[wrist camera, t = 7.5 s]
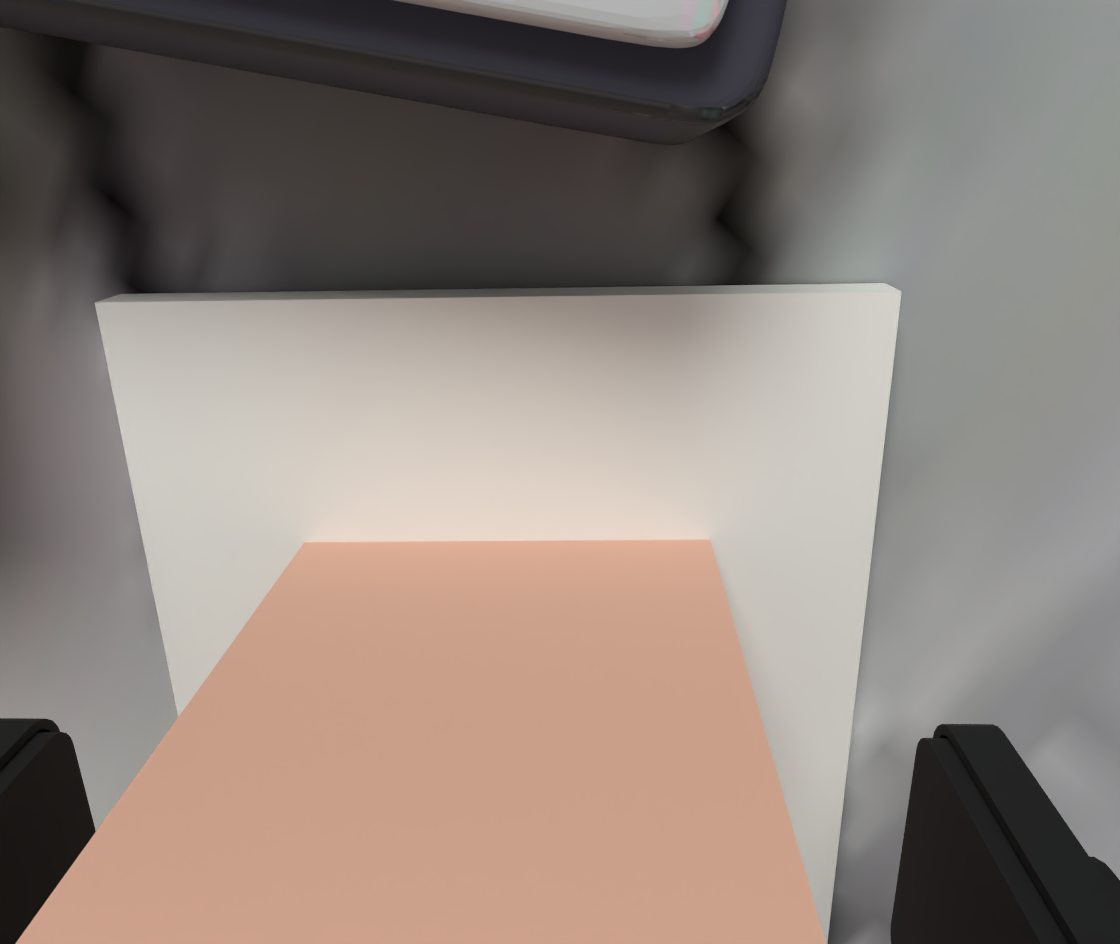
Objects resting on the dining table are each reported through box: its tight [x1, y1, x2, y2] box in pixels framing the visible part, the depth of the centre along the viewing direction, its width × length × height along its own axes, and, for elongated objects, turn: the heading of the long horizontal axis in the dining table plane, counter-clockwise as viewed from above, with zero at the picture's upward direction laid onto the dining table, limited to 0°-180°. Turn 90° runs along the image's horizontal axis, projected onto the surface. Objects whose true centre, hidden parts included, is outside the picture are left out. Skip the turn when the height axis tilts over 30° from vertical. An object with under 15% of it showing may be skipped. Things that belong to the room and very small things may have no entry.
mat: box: [95, 283, 901, 944], centre depth 12 cm, size 9×11×1 cm
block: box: [15, 539, 826, 944], centre depth 9 cm, size 5×5×6 cm
